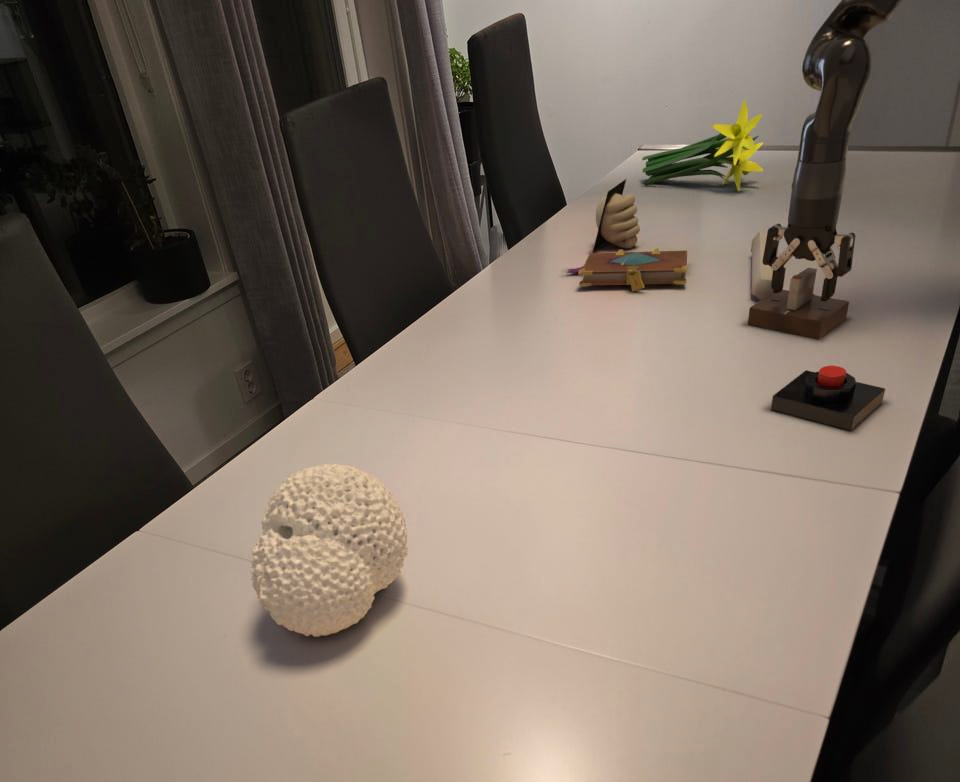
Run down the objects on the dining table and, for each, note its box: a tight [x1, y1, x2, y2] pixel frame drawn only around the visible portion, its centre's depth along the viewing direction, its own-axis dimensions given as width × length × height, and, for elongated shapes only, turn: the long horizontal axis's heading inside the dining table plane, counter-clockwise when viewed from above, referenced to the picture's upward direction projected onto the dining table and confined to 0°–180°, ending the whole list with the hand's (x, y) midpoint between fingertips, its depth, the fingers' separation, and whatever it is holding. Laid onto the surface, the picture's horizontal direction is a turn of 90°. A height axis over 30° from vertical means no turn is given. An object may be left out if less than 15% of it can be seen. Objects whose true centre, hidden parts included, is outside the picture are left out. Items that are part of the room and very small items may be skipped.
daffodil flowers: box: [641, 98, 764, 193], centre depth 206 cm, size 17×15×35 cm
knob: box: [786, 267, 818, 310], centre depth 140 cm, size 6×2×5 cm, turn 137°
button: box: [817, 365, 847, 387], centre depth 118 cm, size 4×4×2 cm
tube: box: [750, 230, 780, 301], centre depth 159 cm, size 5×5×25 cm
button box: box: [770, 369, 886, 432], centre depth 119 cm, size 12×10×4 cm
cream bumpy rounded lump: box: [250, 463, 409, 638], centre depth 93 cm, size 20×18×16 cm
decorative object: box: [592, 178, 641, 253], centre depth 179 cm, size 13×10×10 cm
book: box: [567, 248, 688, 292], centre depth 166 cm, size 16×25×5 cm, turn 77°
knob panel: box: [747, 289, 850, 340], centre depth 143 cm, size 13×10×3 cm
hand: (801, 295), depth 141 cm, fingers open, 8 cm apart
